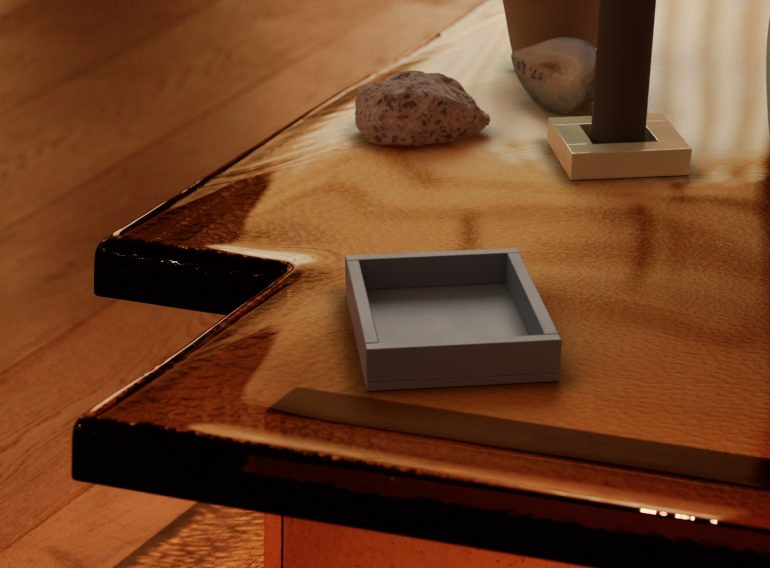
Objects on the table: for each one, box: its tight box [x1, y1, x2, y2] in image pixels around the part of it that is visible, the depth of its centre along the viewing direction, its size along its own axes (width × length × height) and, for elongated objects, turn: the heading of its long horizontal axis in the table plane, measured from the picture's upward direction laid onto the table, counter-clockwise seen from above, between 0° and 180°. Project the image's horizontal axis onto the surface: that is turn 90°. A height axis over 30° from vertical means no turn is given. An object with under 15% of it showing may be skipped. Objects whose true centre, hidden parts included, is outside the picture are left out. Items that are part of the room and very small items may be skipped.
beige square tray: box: [546, 112, 693, 181], centre depth 119 cm, size 9×9×2 cm
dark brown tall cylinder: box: [590, 0, 657, 144], centre depth 116 cm, size 4×4×15 cm
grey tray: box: [344, 247, 563, 392], centre depth 92 cm, size 14×11×2 cm
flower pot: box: [502, 0, 599, 53], centre depth 139 cm, size 12×11×10 cm
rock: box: [354, 70, 491, 147], centre depth 125 cm, size 9×11×4 cm
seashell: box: [510, 37, 596, 115], centre depth 131 cm, size 6×9×10 cm
